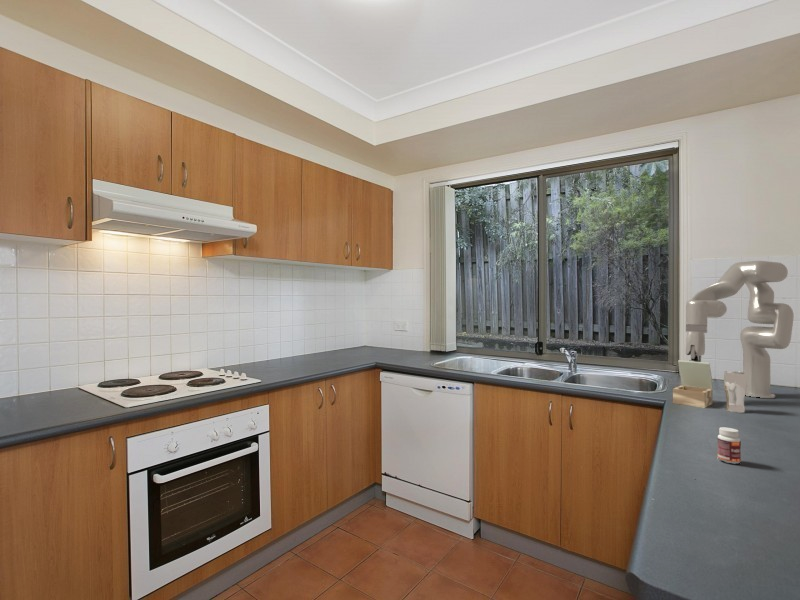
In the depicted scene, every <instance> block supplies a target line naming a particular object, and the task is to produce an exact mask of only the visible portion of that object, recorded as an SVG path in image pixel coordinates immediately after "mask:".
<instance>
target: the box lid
mask: <svg viewBox="0 0 800 600" xmlns="http://www.w3.org/2000/svg"><path fill="white" fill-rule="evenodd" d="M677 363H678V370H679V375H680V377H679V378H680V381H681V385H684V386H691V387H699V388H707V389H714V384H713V377H712V371H711V363H710V362H707V361H706V362H705V361H704V362H703V361H701V362H699V361H693V360H691V359H689V360H685V359H684V360H682V359H681V360H680V359H678V361H677Z"/></svg>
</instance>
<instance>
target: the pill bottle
mask: <svg viewBox="0 0 800 600" xmlns="http://www.w3.org/2000/svg"><path fill="white" fill-rule="evenodd" d="M718 431H719V432H718V433H719V434H718V435H717V459H718V458H720V459H723V460H726V461H731V462H742V461H741V457H742V455H741V450H742V447H741V444H742V441H741V438H739V436H740V431H739V430H738V429H737V428H732V427H726V426H725V427H723V426H721V427H719V429H718Z"/></svg>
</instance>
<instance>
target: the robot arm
mask: <svg viewBox="0 0 800 600" xmlns="http://www.w3.org/2000/svg"><path fill="white" fill-rule="evenodd" d="M788 275H789V273H788V267H787V266H786V265H785V264H784V263H781V262H776V261H767V260H752V261H751V260H750V261H740V262H735V263H733V264H732V265H730V266H729V268H728V269H727V270H726V271H725V272H724V274H723V275H722V276H720V279H719V280H718V281H717V282H715V283H713V284H710V285H708V286H707V287H705V288H703V289H701V290H700V291H698V292H696V293H695V294H694V295H693V297H692V298H691V299H690V300H687V301H686V303H685V332H686V340H685V355H686V356H690V360H693V361H699V362H702V356H704V355H705V353H706V352H705V351H706V340H705V339H706V338H705V337H706V335H705V334H707V333H708V319H710V318H712V319H713V318H714V319H715V318H716V319H717V318H721V317H723V316H724V315H725V314H726V313H727V309H728V308H727V306H726V304H725V303H724V302H723V301H721V300H723V299H726V298H729V297H732V296H735V295H736V294H738V293H739V291H740V290H741V289H742V287H743V286H745V285H746V287H747V288H748V291H749V299H748V308H747V320H748V321H749V322H750V323H753V324H756V325H755V326H754V325H753V326H746V327H744V328H742V329H741V330H740V333H739V336H740V338H739V339H740V343H741V347H742V372H743V373H746V380H747V389H746V394H745V395H746V396H745V397H749V396H751V398H756V397H760V398H759V399H775V398H776V394H773V393H771V357H770V354H769V352H768V351H767V350H766V349H771V350H773V349H774V350H784V349H787V348H788V347H789V346H790V343H791V339H792V333H793V326H794V318H795V317H794V311H793V308H792V307H791V306H790V305H789V304H787V303H782V302H777V303H776V302H774V301H775V292H774V290H773V288H772V287H771V286H770V285H769V284H768V283H780V282H782V281H784V280H786V279H787V277H788ZM757 324H759V325H760V326H759V325H758V326H757ZM761 325H773V326H761Z"/></svg>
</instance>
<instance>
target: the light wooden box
mask: <svg viewBox="0 0 800 600" xmlns="http://www.w3.org/2000/svg"><path fill="white" fill-rule="evenodd" d="M713 389H714V388H713ZM713 389H711V388H703V387H695V386H687V385H682V384H681V385H679V386H676V387H674V388H672V403H673V404H678V405H684V406H690V407H695V408H703V409H705V408H707V407H709V406H711V405H713V400H714V399H713V396H714V395H713V394H714V393H713Z"/></svg>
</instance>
